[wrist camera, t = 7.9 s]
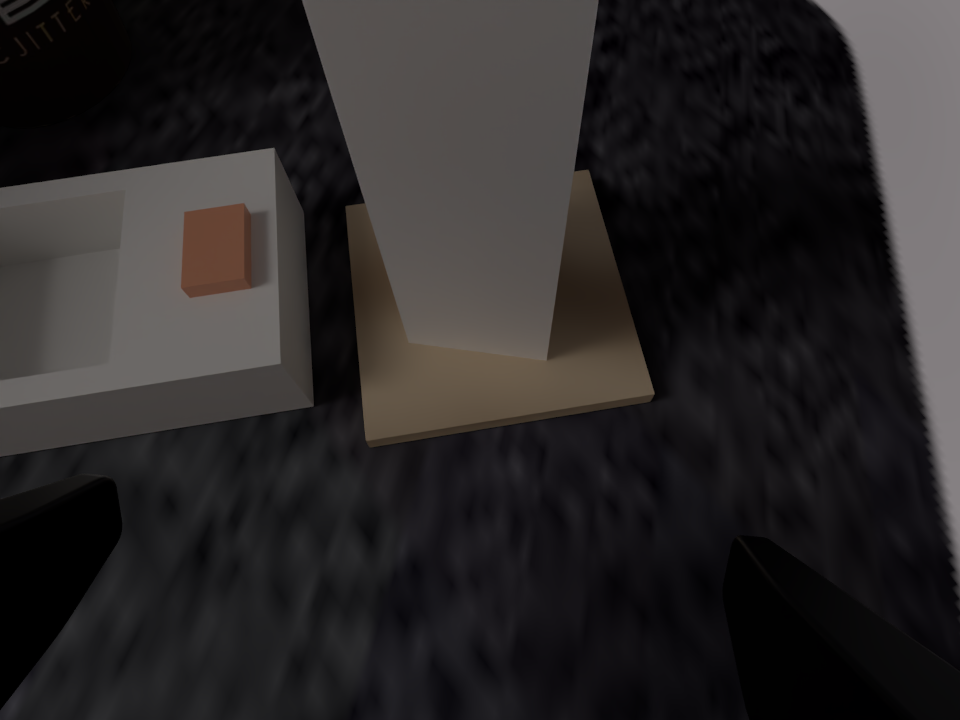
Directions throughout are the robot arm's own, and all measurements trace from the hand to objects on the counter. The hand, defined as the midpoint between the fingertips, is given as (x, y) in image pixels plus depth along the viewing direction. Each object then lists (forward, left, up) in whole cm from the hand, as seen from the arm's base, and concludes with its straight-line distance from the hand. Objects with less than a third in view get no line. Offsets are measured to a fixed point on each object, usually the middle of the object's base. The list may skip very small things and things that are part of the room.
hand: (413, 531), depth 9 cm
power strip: (+9, +11, -8) cm, 16 cm away
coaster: (+8, -2, -8) cm, 11 cm away
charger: (+8, -2, -7) cm, 11 cm away
